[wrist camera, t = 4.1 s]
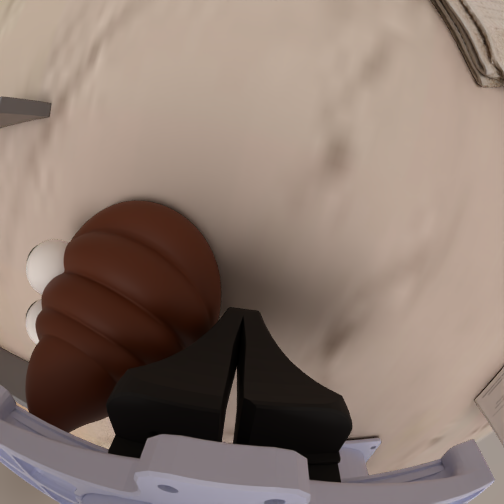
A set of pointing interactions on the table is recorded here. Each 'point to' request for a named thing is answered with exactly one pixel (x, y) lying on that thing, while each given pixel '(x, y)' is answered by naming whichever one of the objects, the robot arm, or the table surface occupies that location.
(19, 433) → the robot arm
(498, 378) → the ink box
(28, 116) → the bin
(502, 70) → the washcloth
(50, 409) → the poop emoji
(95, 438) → the table surface
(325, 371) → the table surface
